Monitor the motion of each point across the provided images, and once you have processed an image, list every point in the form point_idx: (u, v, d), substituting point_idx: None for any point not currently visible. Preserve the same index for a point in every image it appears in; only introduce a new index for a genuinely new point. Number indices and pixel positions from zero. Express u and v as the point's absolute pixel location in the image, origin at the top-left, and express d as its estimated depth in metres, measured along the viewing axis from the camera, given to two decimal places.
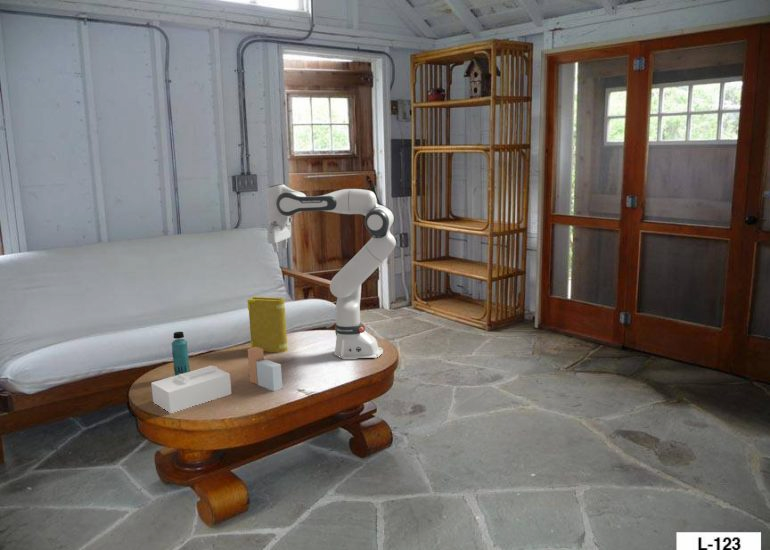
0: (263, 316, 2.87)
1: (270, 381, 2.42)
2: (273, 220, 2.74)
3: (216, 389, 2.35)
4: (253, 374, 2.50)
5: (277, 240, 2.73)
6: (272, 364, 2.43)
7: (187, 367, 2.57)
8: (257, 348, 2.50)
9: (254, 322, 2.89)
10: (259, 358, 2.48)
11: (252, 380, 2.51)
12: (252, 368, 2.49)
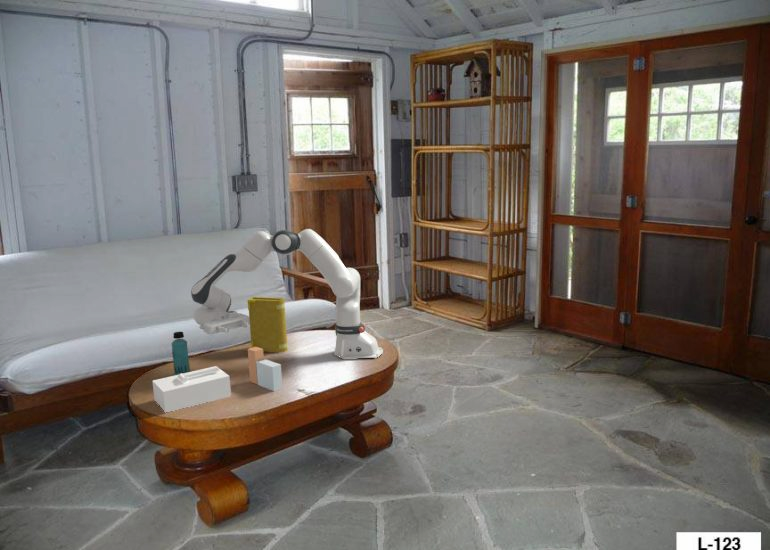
0: (263, 316, 2.87)
1: (270, 381, 2.42)
2: None
3: (214, 391, 2.34)
4: (253, 374, 2.50)
5: (214, 324, 2.55)
6: (272, 364, 2.43)
7: (187, 367, 2.57)
8: (257, 348, 2.50)
9: (254, 322, 2.89)
10: (259, 358, 2.48)
11: (252, 380, 2.51)
12: (252, 368, 2.49)
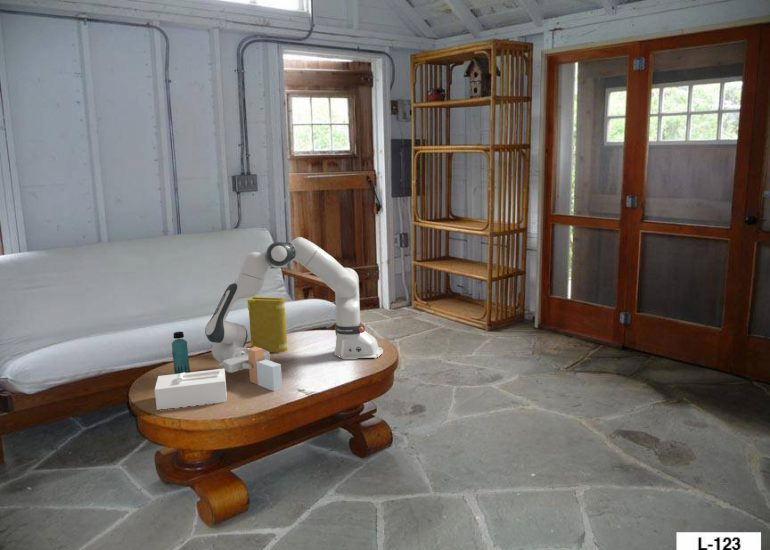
0: (263, 316, 2.87)
1: (270, 381, 2.42)
2: None
3: (208, 395, 2.30)
4: (253, 374, 2.50)
5: (234, 362, 2.48)
6: (272, 364, 2.43)
7: (187, 367, 2.57)
8: (257, 348, 2.50)
9: (254, 322, 2.89)
10: (259, 358, 2.48)
11: (252, 380, 2.51)
12: (252, 368, 2.49)
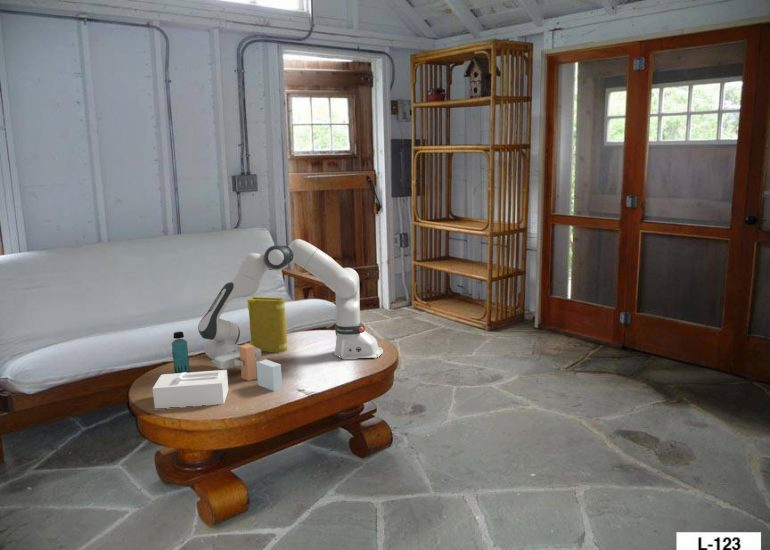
0: (263, 316, 2.87)
1: (270, 381, 2.42)
2: None
3: (205, 396, 2.29)
4: (244, 370, 2.54)
5: (226, 359, 2.52)
6: (272, 364, 2.43)
7: (187, 367, 2.57)
8: (248, 345, 2.54)
9: (254, 322, 2.89)
10: (250, 355, 2.52)
11: (243, 377, 2.55)
12: (243, 365, 2.54)
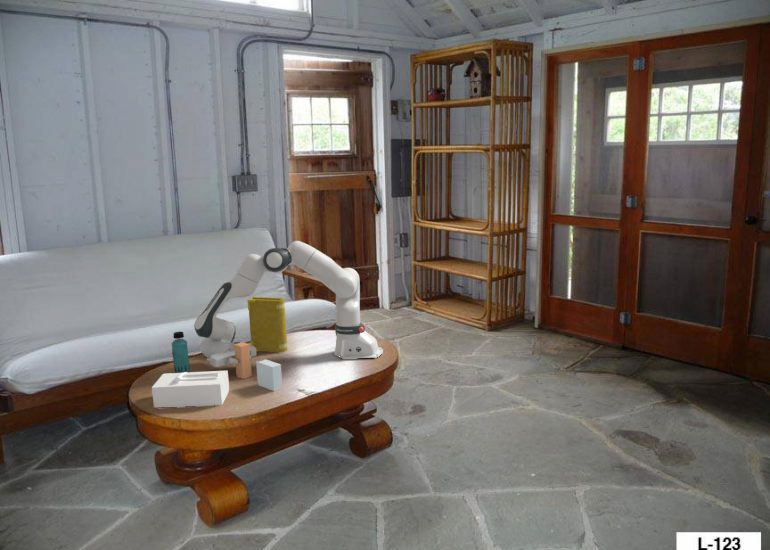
0: (263, 316, 2.87)
1: (270, 381, 2.42)
2: None
3: (204, 396, 2.29)
4: (239, 368, 2.56)
5: (221, 357, 2.55)
6: (272, 364, 2.43)
7: (187, 367, 2.57)
8: (243, 343, 2.56)
9: (254, 322, 2.89)
10: (245, 353, 2.55)
11: (238, 375, 2.58)
12: (238, 363, 2.56)
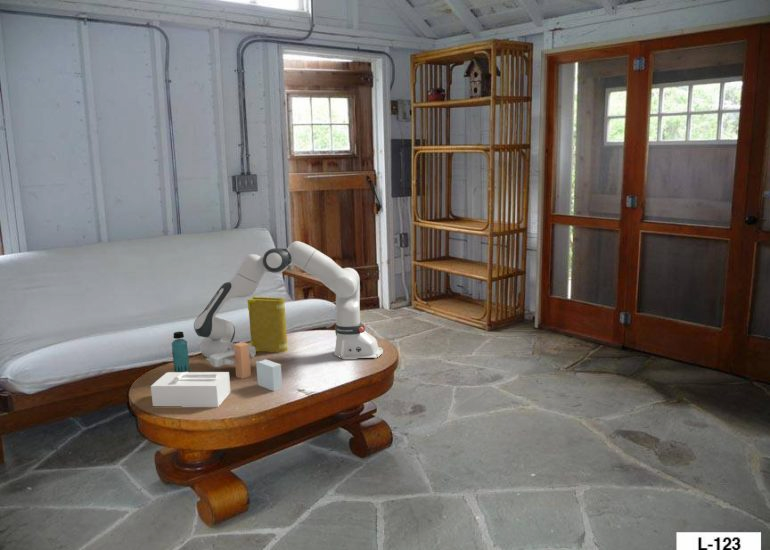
0: (263, 316, 2.87)
1: (270, 381, 2.42)
2: None
3: (200, 397, 2.28)
4: (238, 368, 2.57)
5: (220, 357, 2.55)
6: (272, 364, 2.43)
7: (187, 367, 2.57)
8: (243, 343, 2.57)
9: (254, 322, 2.89)
10: (244, 353, 2.55)
11: (238, 374, 2.58)
12: (238, 363, 2.56)
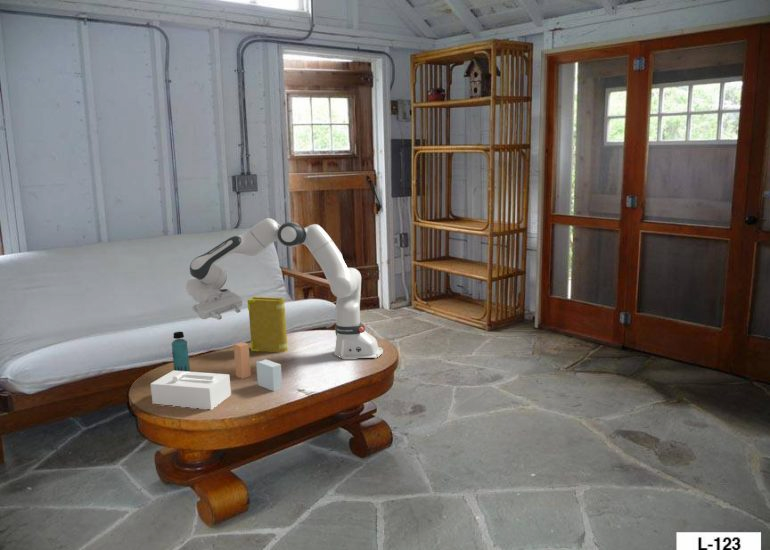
0: (263, 316, 2.87)
1: (270, 381, 2.42)
2: None
3: (195, 399, 2.27)
4: (238, 368, 2.57)
5: (207, 309, 2.58)
6: (272, 364, 2.43)
7: (187, 367, 2.57)
8: (243, 343, 2.57)
9: (254, 322, 2.89)
10: (244, 353, 2.55)
11: (238, 374, 2.58)
12: (238, 363, 2.56)
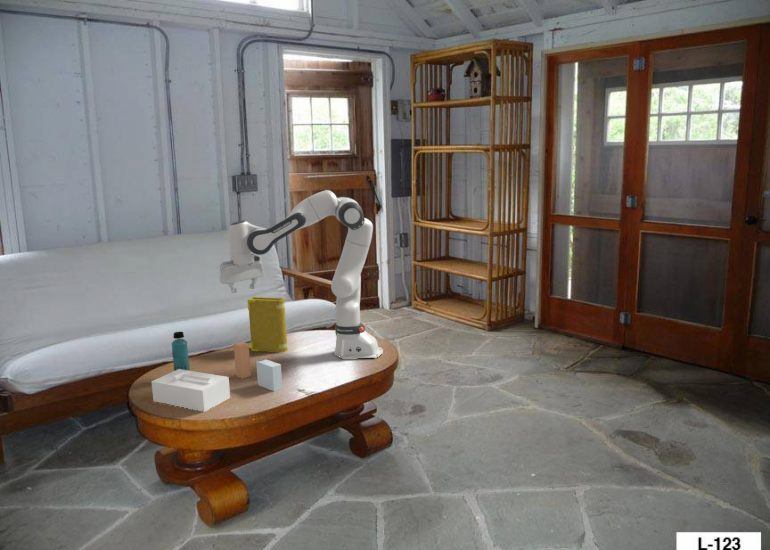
0: (263, 316, 2.87)
1: (270, 381, 2.42)
2: (231, 259, 2.59)
3: (190, 400, 2.26)
4: (238, 368, 2.57)
5: (230, 280, 2.58)
6: (272, 364, 2.43)
7: (187, 367, 2.57)
8: (243, 343, 2.57)
9: (254, 322, 2.89)
10: (244, 353, 2.55)
11: (238, 374, 2.58)
12: (238, 363, 2.56)
